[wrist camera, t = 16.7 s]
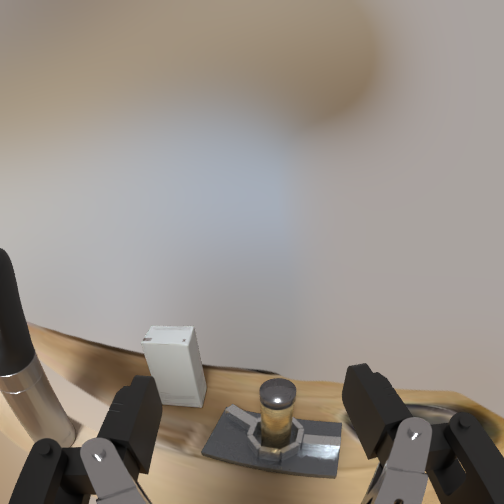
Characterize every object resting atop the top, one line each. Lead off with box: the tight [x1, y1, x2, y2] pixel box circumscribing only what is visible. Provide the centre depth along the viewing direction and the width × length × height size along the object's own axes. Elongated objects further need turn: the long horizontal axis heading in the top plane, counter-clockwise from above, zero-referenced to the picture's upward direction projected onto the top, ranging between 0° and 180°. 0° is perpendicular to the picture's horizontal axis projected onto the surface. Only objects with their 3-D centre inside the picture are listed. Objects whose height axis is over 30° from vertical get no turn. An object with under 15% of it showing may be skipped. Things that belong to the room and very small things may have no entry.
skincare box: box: [141, 326, 207, 408], centre depth 44 cm, size 8×6×15 cm
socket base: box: [201, 404, 342, 479], centre depth 35 cm, size 20×11×4 cm, turn 74°
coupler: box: [260, 378, 296, 449], centre depth 34 cm, size 5×5×12 cm
